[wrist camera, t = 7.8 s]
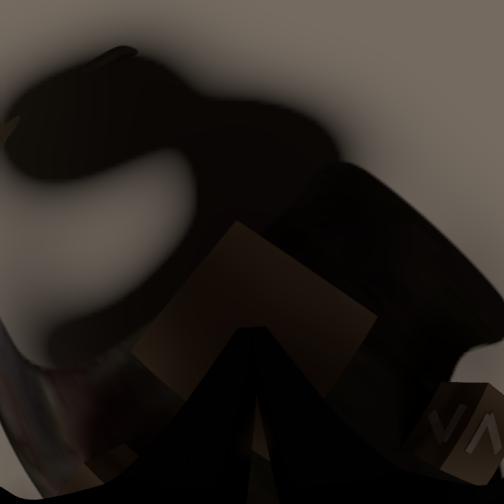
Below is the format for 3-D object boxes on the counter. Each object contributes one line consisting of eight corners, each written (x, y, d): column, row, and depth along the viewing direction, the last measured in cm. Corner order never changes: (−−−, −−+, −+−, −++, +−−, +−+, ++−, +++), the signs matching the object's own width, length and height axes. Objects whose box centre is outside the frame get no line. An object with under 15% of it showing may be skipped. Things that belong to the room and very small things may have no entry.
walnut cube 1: (147, 526, 11) (118, 560, 7) (91, 479, 13) (49, 500, 8) (186, 492, 13) (161, 530, 8) (123, 441, 14) (80, 461, 9)
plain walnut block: (268, 418, 14) (271, 461, 7) (185, 355, 16) (130, 351, 9) (330, 335, 16) (377, 316, 9) (247, 277, 17) (236, 220, 10)
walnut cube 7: (443, 469, 12) (485, 488, 7) (398, 447, 13) (439, 469, 8) (479, 409, 13) (526, 413, 8) (439, 381, 14) (488, 381, 10)
